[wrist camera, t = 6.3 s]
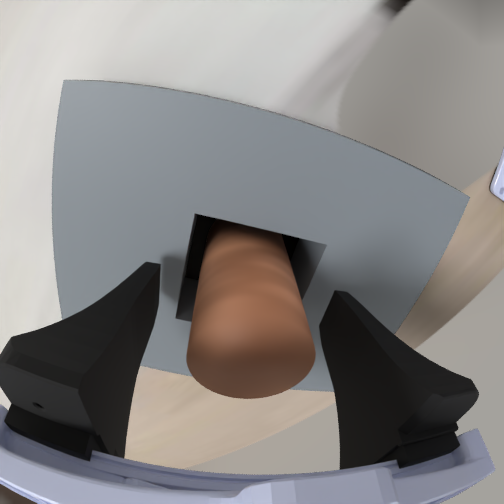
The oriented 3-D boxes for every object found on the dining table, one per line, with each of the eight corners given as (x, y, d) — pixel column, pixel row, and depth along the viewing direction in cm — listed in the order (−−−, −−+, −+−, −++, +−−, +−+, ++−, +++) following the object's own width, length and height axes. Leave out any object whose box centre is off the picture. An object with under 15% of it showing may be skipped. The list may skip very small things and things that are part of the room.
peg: (291, 216, 15) (335, 323, 8) (272, 281, 17) (293, 401, 10) (212, 202, 15) (191, 305, 8) (201, 270, 16) (183, 391, 9)
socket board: (432, 175, 14) (470, 197, 11) (338, 354, 21) (350, 391, 18) (100, 80, 11) (63, 79, 8) (86, 307, 18) (67, 344, 15)
